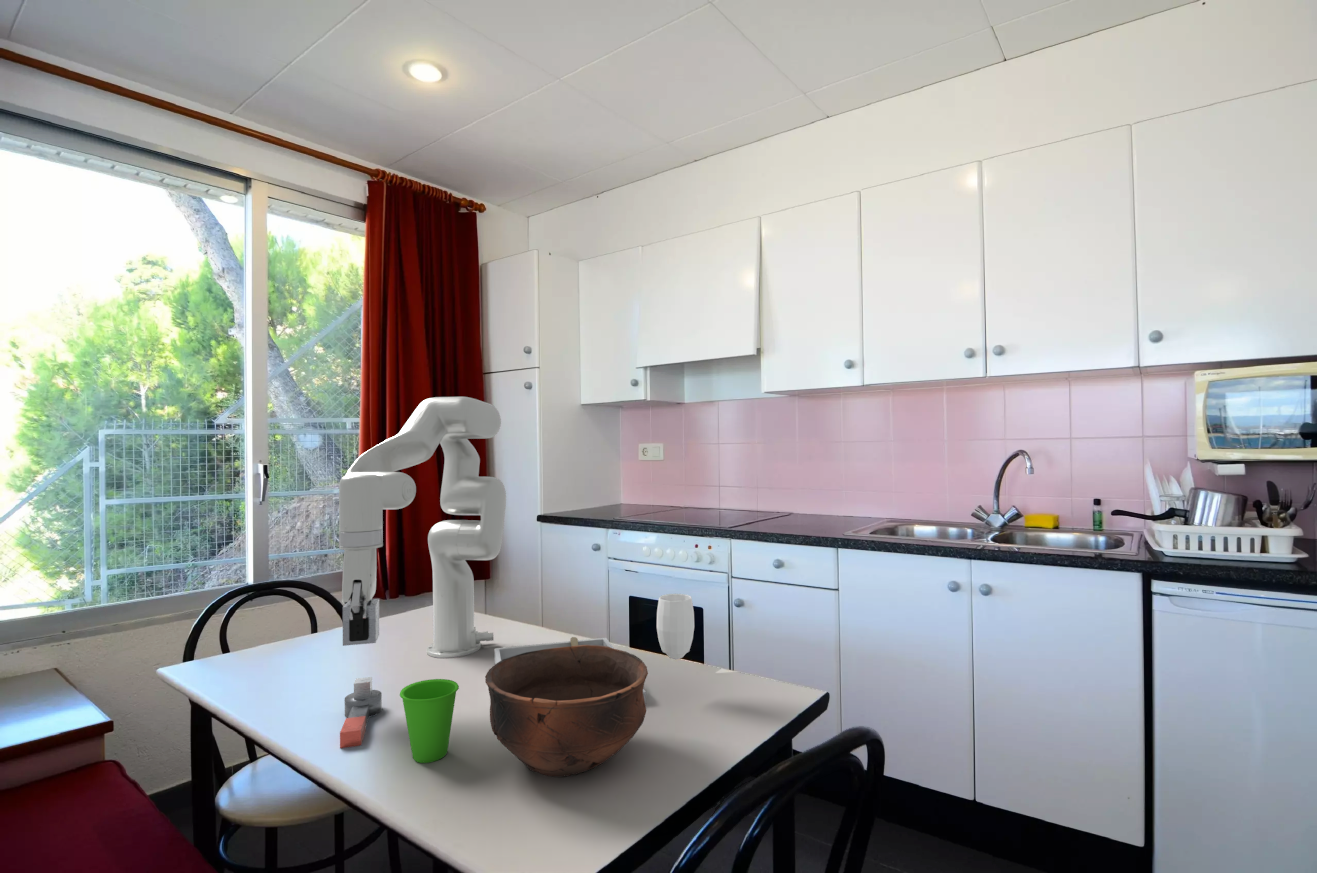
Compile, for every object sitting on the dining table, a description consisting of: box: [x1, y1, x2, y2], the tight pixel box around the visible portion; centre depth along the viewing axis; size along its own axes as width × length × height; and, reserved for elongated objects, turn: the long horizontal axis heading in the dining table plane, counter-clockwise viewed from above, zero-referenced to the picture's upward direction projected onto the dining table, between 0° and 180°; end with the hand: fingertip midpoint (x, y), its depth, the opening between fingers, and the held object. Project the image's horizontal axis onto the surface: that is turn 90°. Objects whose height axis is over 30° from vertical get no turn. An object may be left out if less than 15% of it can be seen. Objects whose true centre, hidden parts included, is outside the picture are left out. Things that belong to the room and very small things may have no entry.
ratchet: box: [339, 676, 383, 749], centre depth 120 cm, size 18×6×6 cm, turn 16°
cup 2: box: [656, 593, 695, 660], centre depth 127 cm, size 7×7×21 cm
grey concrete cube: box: [342, 598, 380, 647], centre depth 126 cm, size 6×6×7 cm
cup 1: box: [399, 678, 460, 764], centre depth 108 cm, size 9×9×11 cm
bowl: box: [484, 645, 649, 778], centre depth 105 cm, size 25×25×15 cm
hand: (361, 634), depth 126 cm, fingers closed on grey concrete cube, 5 cm apart
